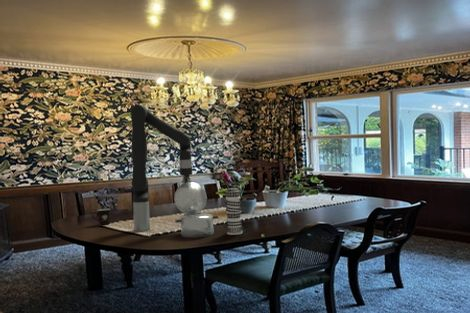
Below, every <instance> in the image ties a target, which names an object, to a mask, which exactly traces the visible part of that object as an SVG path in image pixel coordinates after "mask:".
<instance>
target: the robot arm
mask: <svg viewBox="0 0 470 313" xmlns="http://www.w3.org/2000/svg"><path fill="white" fill-rule="evenodd" d="M130 118H131V161H132V179H131V186H132V204H133V214H132V215H133V216H132V217H133V229H134V230H133V231H134V232H145V231H150V230H151V224H150V223H151V220H150V218H151V217H150V202H149V200H150V199H149V181H148V178H147V171H146V167H147V166H146V165H147V158H148V140H147V134H146V128H145V127H146V126H145V124H148V125H149V126H151V127H152V128H154V129H155V130H157V131H158V132H160V133H161V134H162V135H165V136H166V137H168V138H169V139H171V140H173V141H174V142H175V143H177V144H178V145H179V152H178V154H179V156H178V157H179V175H180V176H182V177H183V178H182V180H181V181H182V184H184V183H187V182H192V181H191V177H190V176H192V175H193V164H192V152H191V149H192V148H191V147H192V146H191V145H192V144H191V143H192V142H191V141H192V140H191V137H190V136H189V135H188V134H186V133H184V132H182V131H180V130H178V129H177V127H176V126H175V127H174V126H173V125H172V124H170V123H168V122H166V121H165V120H162V119H160V118H158V117H157V116H155V115H154V114H153V113H151V112H150V111H149V110H148V109H147V108H146V107H145V106H143V105H140V104H135V105H133V106H132V107H131V110H130Z"/></svg>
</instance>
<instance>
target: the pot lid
mask: <svg viewBox="0 0 470 313" xmlns="http://www.w3.org/2000/svg"><path fill="white" fill-rule="evenodd" d="M207 199H208V198H207V193H206V190H205V189H204V188H203V186H201V185H200V184H199V183H197V182H192V181H191V182H187V183H184V184H183V183H182V184H181V185H179V186H178V187H177V189H176V191H175V192H174V203H175V206H176V208H177V209H178V210H179V211H180V212H182V213H184V214H183V216H184V215H189V214H202V212H201V211H202V210H203V209H204V208H205V207H206V205H207Z"/></svg>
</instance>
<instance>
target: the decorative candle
mask: <svg viewBox="0 0 470 313" xmlns="http://www.w3.org/2000/svg"><path fill="white" fill-rule="evenodd" d="M240 192H241V191H240V189H239V188H238V187H230V188H227V189H226V190H225V199H224V202H225V203H224V204H225V211H226V212H225V213H226V231H227V232H226V234H227V235H230V236H233V235H234V236H235V235H236V236H238V235H241V234H243V226H242V225H243V223H242V217H241V216H242V215H241V213H242V208H241V207H242V201H241V200H242V198H241V194H240Z"/></svg>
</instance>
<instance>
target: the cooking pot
mask: <svg viewBox="0 0 470 313" xmlns="http://www.w3.org/2000/svg"><path fill="white" fill-rule="evenodd" d="M214 219H219V216H218V215H213V214H210V213H201V214H189V215H184V214H183V215H181V216H180V219H174V221H175V223H178V224H179V223H180V230H181V231H180V232H181V237H184V238H193V239H194V238H195V239H196V238H204V237H205V238H206V237H210V236H212V235H214V231H215V230H214Z"/></svg>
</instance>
